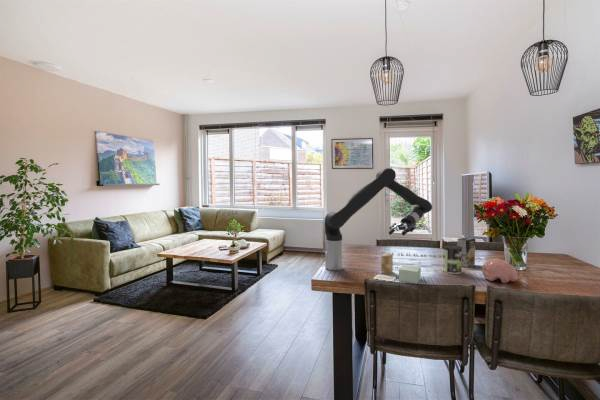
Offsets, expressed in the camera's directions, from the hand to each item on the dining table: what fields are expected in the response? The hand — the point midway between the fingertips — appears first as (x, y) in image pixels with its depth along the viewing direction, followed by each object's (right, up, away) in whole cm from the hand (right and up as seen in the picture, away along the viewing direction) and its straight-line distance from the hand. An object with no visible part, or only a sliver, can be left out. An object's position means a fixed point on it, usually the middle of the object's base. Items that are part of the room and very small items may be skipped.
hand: (395, 233), depth 181 cm
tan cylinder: (-5, -22, 0) cm, 22 cm away
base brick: (+3, -23, -13) cm, 26 cm away
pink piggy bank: (+48, -22, -17) cm, 55 cm away
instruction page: (-9, -22, -10) cm, 26 cm away
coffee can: (+31, -21, 0) cm, 38 cm away
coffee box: (+46, -20, +12) cm, 51 cm away
